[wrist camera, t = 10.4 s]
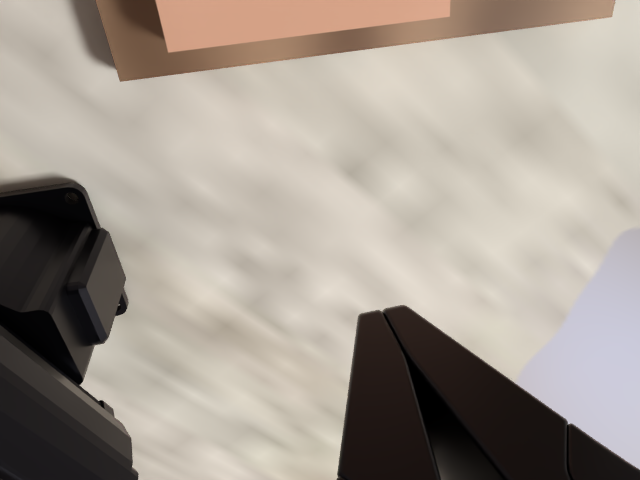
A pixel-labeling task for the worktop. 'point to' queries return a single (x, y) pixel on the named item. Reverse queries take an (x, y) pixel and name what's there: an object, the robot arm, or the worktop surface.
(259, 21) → the tile
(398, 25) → the board
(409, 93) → the worktop surface
